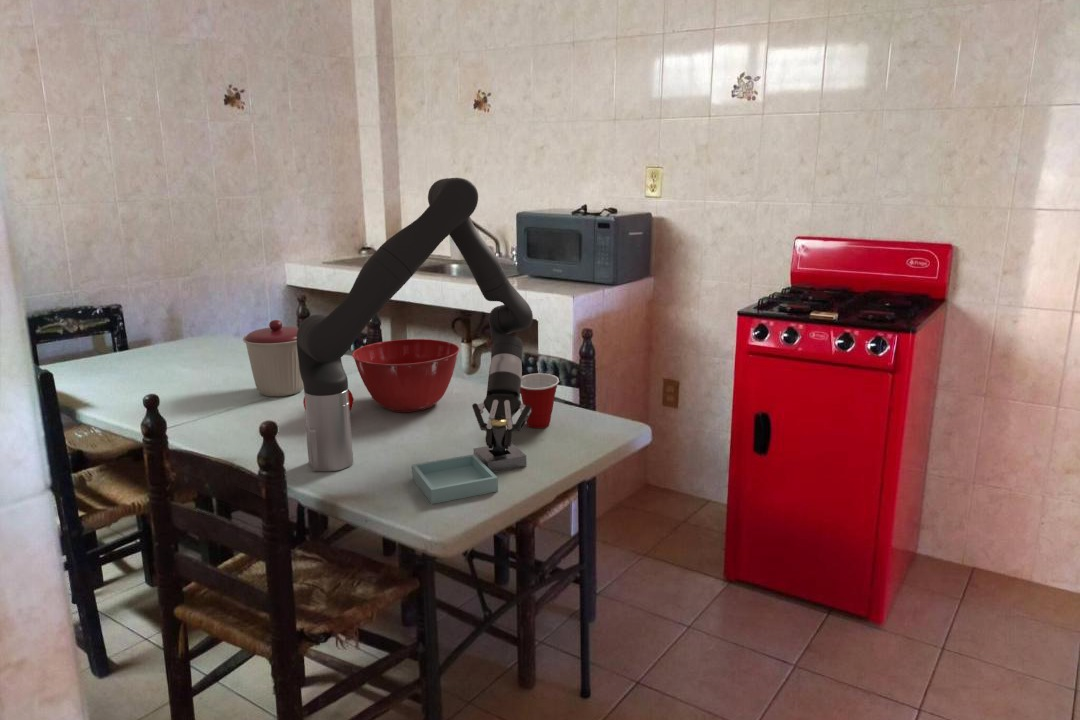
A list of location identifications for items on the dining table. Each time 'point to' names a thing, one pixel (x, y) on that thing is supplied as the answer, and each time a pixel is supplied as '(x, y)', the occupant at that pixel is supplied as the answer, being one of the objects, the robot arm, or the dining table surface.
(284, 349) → the canister
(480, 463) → the tray
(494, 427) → the pin
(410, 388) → the mixing bowl
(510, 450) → the grey square socket base
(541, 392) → the plastic cup
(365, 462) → the dining table surface
